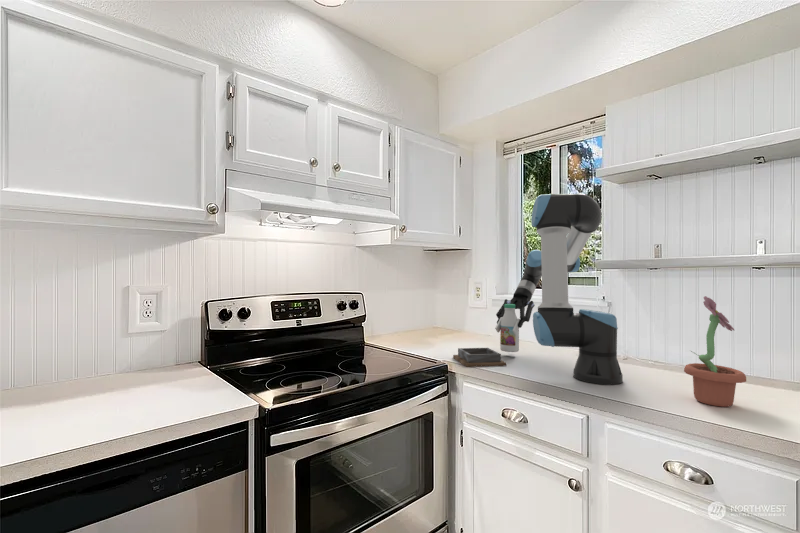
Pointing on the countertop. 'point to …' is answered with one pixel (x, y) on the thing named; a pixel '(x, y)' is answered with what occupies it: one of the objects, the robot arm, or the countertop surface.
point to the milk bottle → (509, 330)
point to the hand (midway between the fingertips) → (505, 331)
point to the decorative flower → (714, 368)
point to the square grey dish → (478, 357)
